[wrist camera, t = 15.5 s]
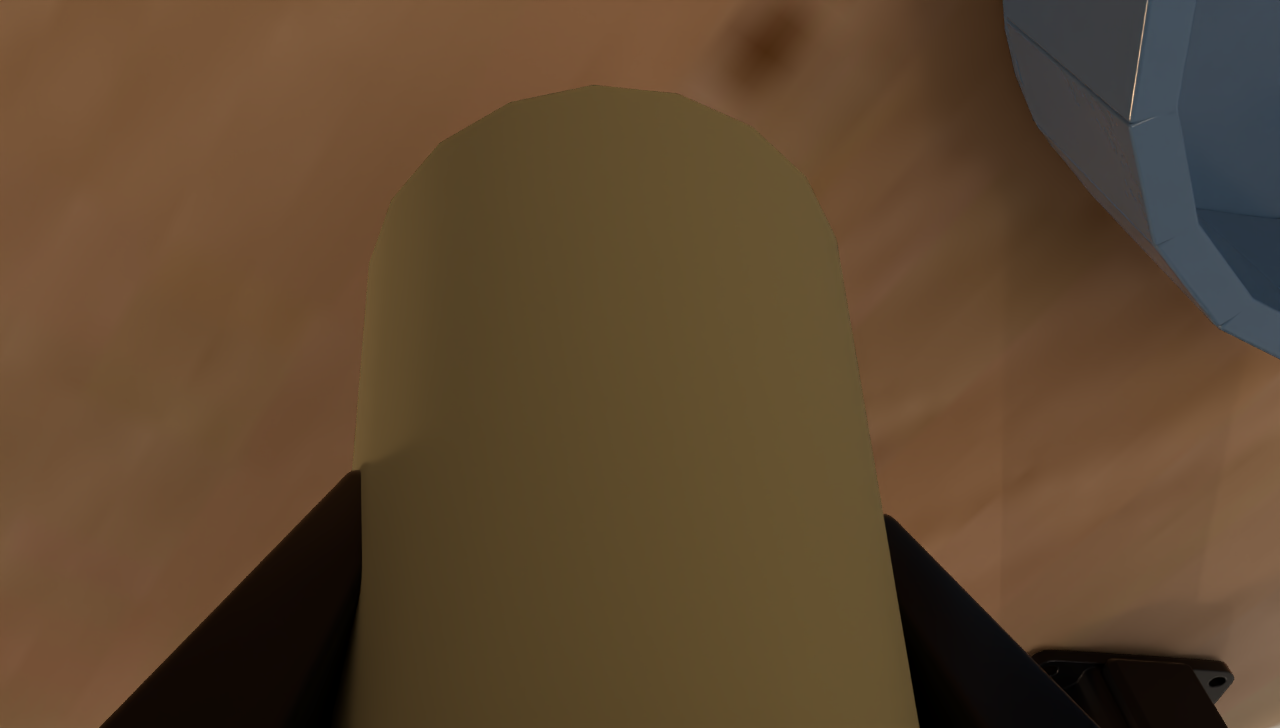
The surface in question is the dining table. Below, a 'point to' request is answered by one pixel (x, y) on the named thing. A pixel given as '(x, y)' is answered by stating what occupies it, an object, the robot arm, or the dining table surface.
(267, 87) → the dining table surface
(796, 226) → the tan pawn
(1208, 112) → the basin
